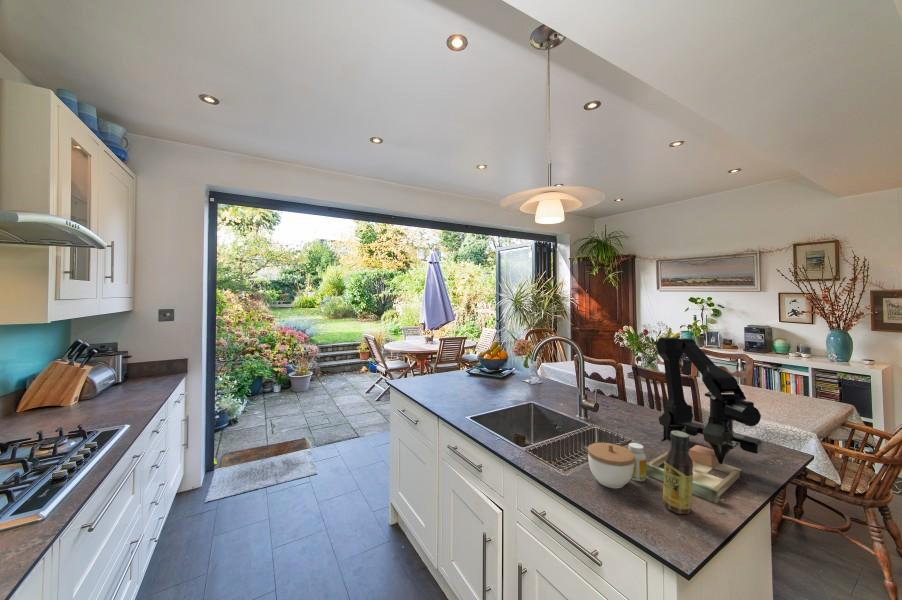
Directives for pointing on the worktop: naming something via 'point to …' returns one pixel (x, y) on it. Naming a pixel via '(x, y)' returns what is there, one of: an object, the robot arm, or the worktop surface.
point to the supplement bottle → (638, 462)
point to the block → (703, 455)
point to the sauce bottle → (678, 475)
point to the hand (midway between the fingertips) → (721, 463)
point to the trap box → (699, 477)
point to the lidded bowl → (611, 464)
